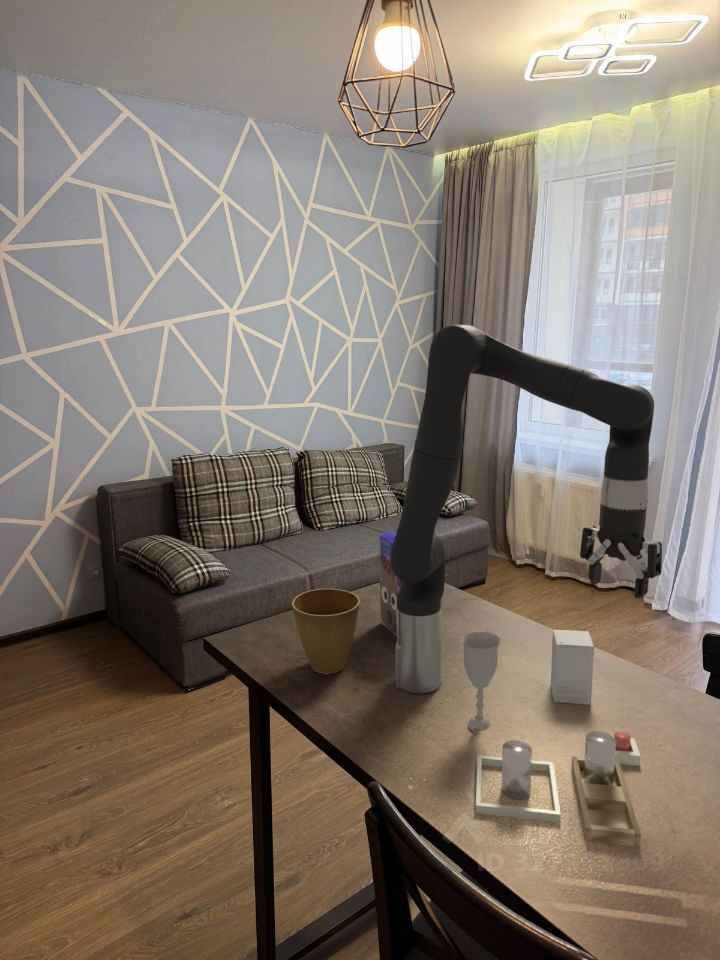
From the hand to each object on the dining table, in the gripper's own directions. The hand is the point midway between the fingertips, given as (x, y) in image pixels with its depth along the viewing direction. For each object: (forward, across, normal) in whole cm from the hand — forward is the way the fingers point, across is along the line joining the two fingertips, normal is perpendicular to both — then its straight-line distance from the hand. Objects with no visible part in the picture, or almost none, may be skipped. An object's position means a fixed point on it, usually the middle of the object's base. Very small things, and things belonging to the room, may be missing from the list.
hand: (616, 590), depth 117 cm
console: (+27, +7, -8) cm, 29 cm away
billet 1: (+27, +2, -28) cm, 39 cm away
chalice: (+28, -15, -19) cm, 37 cm away
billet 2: (+26, +9, -17) cm, 32 cm away
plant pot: (+28, -53, -27) cm, 66 cm away
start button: (+25, +7, -8) cm, 27 cm away
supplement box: (+28, -11, +4) cm, 30 cm away
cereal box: (+28, -54, -2) cm, 61 cm away
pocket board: (+27, +12, -21) cm, 36 cm away
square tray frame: (+27, +2, -28) cm, 39 cm away
